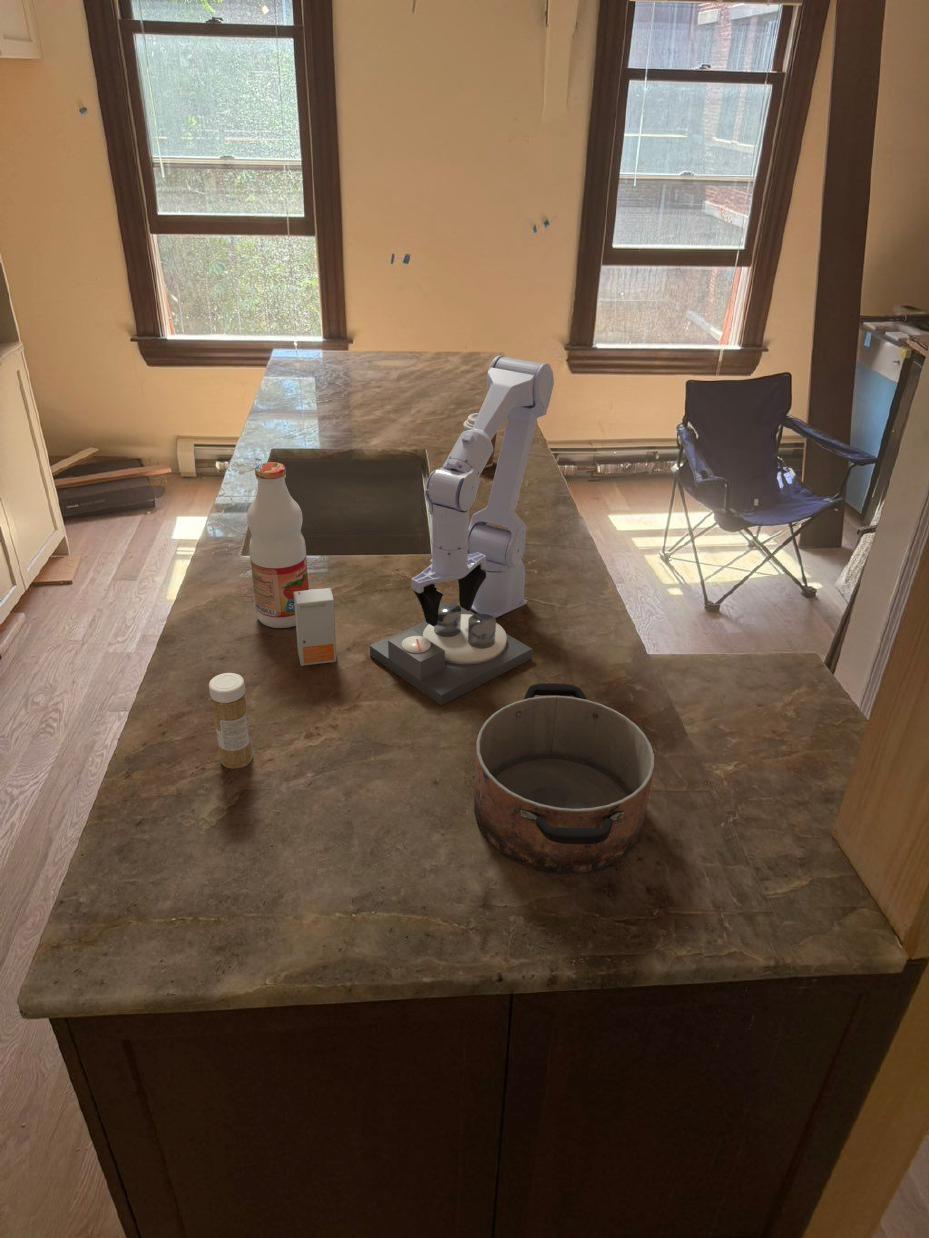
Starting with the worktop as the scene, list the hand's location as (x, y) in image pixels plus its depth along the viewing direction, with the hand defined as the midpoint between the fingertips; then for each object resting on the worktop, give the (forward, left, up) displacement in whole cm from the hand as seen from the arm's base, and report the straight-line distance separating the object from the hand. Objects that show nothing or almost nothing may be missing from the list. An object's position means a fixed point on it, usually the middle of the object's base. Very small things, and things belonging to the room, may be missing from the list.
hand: (448, 615), depth 146 cm
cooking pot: (+15, +39, -6) cm, 43 cm away
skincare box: (+19, -11, -6) cm, 23 cm away
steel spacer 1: (0, 0, -3) cm, 3 cm away
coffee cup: (-62, -58, -6) cm, 85 cm away
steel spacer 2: (-2, +6, -3) cm, 7 cm away
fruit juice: (+16, -26, -6) cm, 31 cm away
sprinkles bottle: (+42, +3, -6) cm, 43 cm away
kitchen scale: (+2, +3, -6) cm, 7 cm away
